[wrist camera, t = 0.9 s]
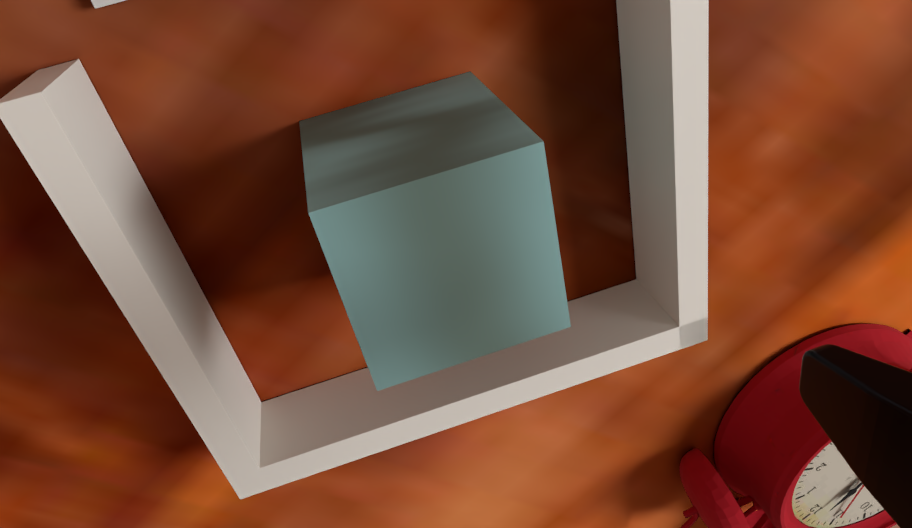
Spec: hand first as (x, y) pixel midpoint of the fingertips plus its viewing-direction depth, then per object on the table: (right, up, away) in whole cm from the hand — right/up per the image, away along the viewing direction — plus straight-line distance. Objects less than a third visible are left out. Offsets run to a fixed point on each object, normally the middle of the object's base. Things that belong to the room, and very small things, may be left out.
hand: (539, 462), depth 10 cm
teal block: (-3, +6, +10) cm, 12 cm away
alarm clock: (+14, -5, +21) cm, 26 cm away
